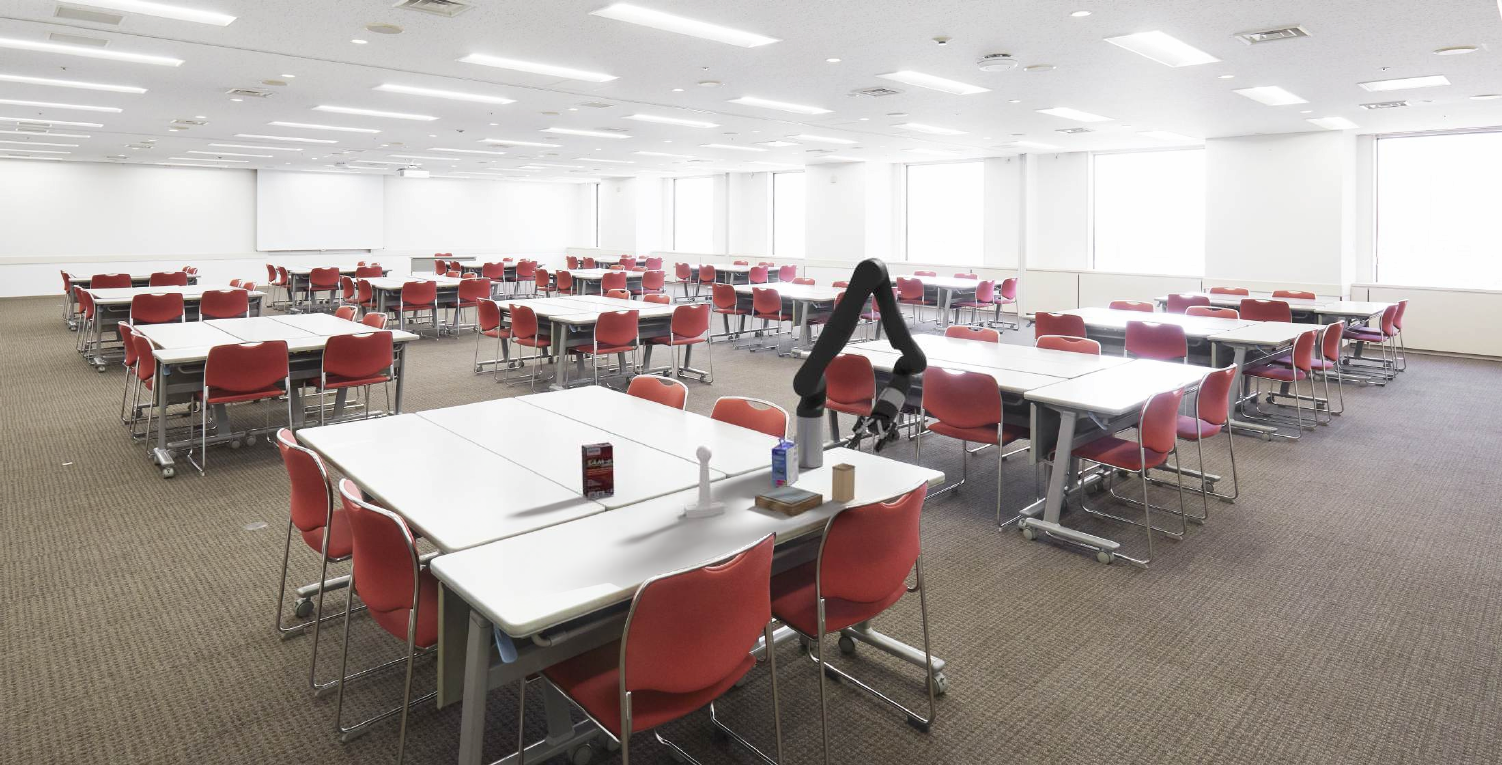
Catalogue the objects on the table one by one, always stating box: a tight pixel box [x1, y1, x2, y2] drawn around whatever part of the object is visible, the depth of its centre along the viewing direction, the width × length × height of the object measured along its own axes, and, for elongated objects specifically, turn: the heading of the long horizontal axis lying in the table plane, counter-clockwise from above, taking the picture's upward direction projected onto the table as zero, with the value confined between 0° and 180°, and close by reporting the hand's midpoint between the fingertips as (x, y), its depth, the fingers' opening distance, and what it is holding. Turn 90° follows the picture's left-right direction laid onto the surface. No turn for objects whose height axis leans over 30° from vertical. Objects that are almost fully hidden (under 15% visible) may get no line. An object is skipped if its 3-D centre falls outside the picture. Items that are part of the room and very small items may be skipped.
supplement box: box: [581, 441, 615, 501], centre depth 250 cm, size 9×5×16 cm, turn 118°
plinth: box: [754, 485, 824, 518], centre depth 242 cm, size 14×14×3 cm
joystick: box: [683, 444, 726, 519], centre depth 235 cm, size 11×8×20 cm
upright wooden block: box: [831, 462, 856, 504], centre depth 247 cm, size 5×5×10 cm
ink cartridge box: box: [771, 436, 799, 487], centre depth 263 cm, size 10×6×14 cm, turn 155°
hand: (864, 448), depth 252 cm, fingers open, 8 cm apart
